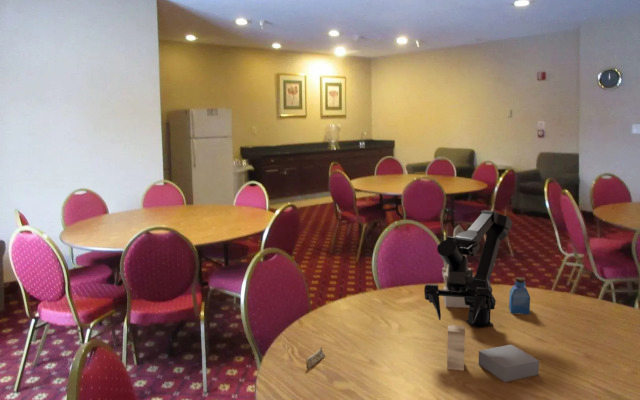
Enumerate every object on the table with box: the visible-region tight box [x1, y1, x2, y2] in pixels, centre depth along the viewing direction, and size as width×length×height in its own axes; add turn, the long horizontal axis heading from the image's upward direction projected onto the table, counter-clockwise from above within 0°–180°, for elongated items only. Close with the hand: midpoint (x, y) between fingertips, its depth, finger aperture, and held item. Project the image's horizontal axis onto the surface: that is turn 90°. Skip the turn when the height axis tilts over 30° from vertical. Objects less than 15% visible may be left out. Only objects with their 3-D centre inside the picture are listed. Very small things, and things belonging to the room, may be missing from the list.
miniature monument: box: [441, 224, 475, 309], centre depth 194 cm, size 10×10×30 cm
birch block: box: [446, 324, 466, 372], centre depth 145 cm, size 4×4×11 cm
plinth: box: [478, 344, 540, 383], centre depth 143 cm, size 11×11×4 cm
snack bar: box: [305, 346, 326, 370], centre depth 150 cm, size 10×2×3 cm, turn 150°
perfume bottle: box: [508, 276, 531, 315], centre depth 186 cm, size 6×6×12 cm
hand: (456, 321), depth 149 cm, fingers open, 9 cm apart
